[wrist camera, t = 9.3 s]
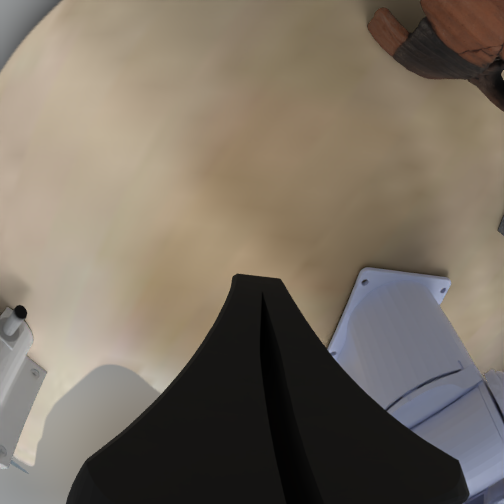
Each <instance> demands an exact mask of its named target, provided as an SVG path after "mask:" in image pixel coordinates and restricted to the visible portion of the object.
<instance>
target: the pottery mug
mask: <svg viewBox="0 0 504 504" xmlns="http://www.w3.org/2000/svg"><path fill="white" fill-rule="evenodd" d="M420 3H421V6H422V9H423V11H424V13H425V15H426V17H425V18H423V19H422V20H421V22H420V24H419V26H418V27H417V28H416V30H415V31H414V32H413V33H409V32H408V31H407V30H406V29H405V28H404V27H403V26H402V25H401V24H400V23H399V22H398V21H397V20H396V18H395V17H394V16H393V15H392V14H391V13H390V11H389V10H388V9H387V8H384V7H383V8H380V9H378V10H377V11H376V12H375V14H374V17H373V18H372V20H371V21H370V23H369V24H368V30H369V31H370V32H371V34H372V36H373V37H374V39H375V40H376V41H377V42H378V43H379V44H380V46H381V47H382V48H383V49H384V50H386V51H387V52H388V53H389V54H390V55H391V56H392V57H393V58H394V59H395V60H396V61H397V62H399V63H400V64H401V65H403V66H404V67H406V69H408V70H410V71H412V72H414V73H416V74H417V75H419V76H422V77H424V78H428V79H464V80H466V79H468V81H469V82H471V83H472V84H474V85H476V86H477V87H478V88H479V89H480V90H481V91H482V92H483V93H484V95H485V96H486V97H487V98H488V99H489V100H490V101H491V102H492V103H493V104H494V105H496V106H497V107H498V108H499V109H501V110H502V111H504V80H503V78H502V76H501V73H502V71H503V70H504V0H421V1H420Z"/></svg>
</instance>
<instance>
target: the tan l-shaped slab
mask: <svg viewBox="0 0 504 504" xmlns="http://www.w3.org/2000/svg"><path fill="white" fill-rule="evenodd" d="M498 231H499V232H500V233H501V234H502V235H503V236H504V217H503V219H502V222H501V224H500V226H499V229H498Z"/></svg>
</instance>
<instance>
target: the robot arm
mask: <svg viewBox="0 0 504 504" xmlns="http://www.w3.org/2000/svg"><path fill="white" fill-rule="evenodd" d="M365 279H367V280H366V281H365V282H362V281H363V280H365ZM450 285H451V281H450V279H449V278H447V277H441V276H433V275H426V274H418V273H410V272H402V271H394V270H386V269H378V268H371V267H366V268H363V269H362V270H361V271H360V273H359V275H358V278H357V280H356V283H355V285H354V288H353V290H352V293H351V295H350V298H349V300H348V303H347V305H346V308H345V310H344V312H343V315H342V317H341V319H340V322H339V324H338V326H337V329H336V331H335V333H334V335H333V338H332V340H331V342H330V344H329V346H328V349H326V347H325V346H324V345H323V344H322V342H321V341H320V339H319V338H318V337H317V335H316V334H315V332H314V331H313V330H312V328H311V327H310V325H309V324H308V322H307V321H306V319H305V318H304V316H303V315H302V313H301V312H300V310H299V308H298V307H297V305H296V304H295V302H294V300H293V299H292V297H291V295H290V294H289V292H288V290H287V289H286V287H285V285H284V283H283V282H282V281H281V279H278V278H270V277H261V276H253V275H245V274H236V275H234V276H233V277H232V284H231V288H230V291H229V294H228V296H227V299H226V301H225V303H224V305H223V307H222V309H221V311H220V313H219V315H218V317H217V319H216V321H215V323H214V324H213V326H212V328H211V329H210V331H209V333H208V334H207V336H206V337H205V339H204V341H203V342H202V344H201V345H200V347H199V348H198V350H197V351H196V352H195V354H194V355H193V357H192V358H191V359H190V361H189V362H188V363H187V364H186V366H185V367H184V368H183V370H182V371H181V372H180V373H179V374H178V376H177V377H176V378H175V379H174V380H173V381H172V383H171V384H170V385H169V386H168V387H167V388H166V390H165V391H164V392H163V393H162V394H161V395H160V396H159V397H158V398H157V399H156V400H155V401H154V402H153V403H152V404H151V405H150V406H149V407H148V408H147V409H146V410H145V411H144V412H143V413H142V414H141V415H140V416H139V417H138V418H137V419H136V420H134V421H133V422H132V423H131V424H130V425H129V426H128V427H127V428H126V429H125V430H123V431H122V432H121V433H120V434H119V435H118V436H116V437H115V438H114V439H112V440H111V441H110V442H108V443H107V444H106V445H105V446H103V447H102V448H101V449H99V450H98V451H97V452H96V453H94V454H93V455H92V456H91V457H89V458H88V459H87V460H86V461H85V463H84V464H83V466H82V467H81V469H80V471H79V473H78V474H77V476H76V478H75V480H74V482H73V484H72V487H71V490H70V492H69V495H68V498H67V502H66V504H504V372H502V371H496V372H495V371H494V370H493V369H491V370H489V371H488V372H487V373H485V374H484V375H485V378H486V380H487V382H488V383H487V382H486V380H485V379H484V377H483V376H482V374H481V373H480V371H479V370H478V368H477V367H476V366H475V364H474V362H473V360H472V359H471V357H470V355H469V353H468V352H467V350H466V348H465V346H464V345H463V343H462V341H461V340H460V338H459V336H458V335H457V333H456V331H455V330H454V328H453V326H452V325H451V323H450V321H449V320H448V318H447V317H446V315H445V313H444V312H443V310H442V309H441V307H440V304H441V302H442V300H443V298H444V297H445V295H446V293H447V291H448V289H449V287H450ZM441 289H442V290H441ZM333 351H334V352H333ZM488 384H489V385H488Z"/></svg>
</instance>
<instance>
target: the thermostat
mask: <svg viewBox="0 0 504 504" xmlns="http://www.w3.org/2000/svg"><path fill="white" fill-rule="evenodd" d="M26 316H27V311H26V309H25V308H24V307H23V306H21V305H18V306H16V308H15V309H14V310H12V309H10V308H9V307H7V308H6V309H5V311H4V312H3V313H2V315H1V316H0V469H6V468H9V465H10V462H11V459H12V456H13V453H14V451H15V448H16V445H17V442H18V440H19V437H20V435H21V432H22V429H23V427H24V424H25V422H26V419H27V417H28V414H29V412H30V410H31V407H32V405H33V403H34V400H35V398H36V396H37V393H38V391H39V389H40V387H41V385H42V382H43V380H44V378H45V376H46V374H47V372H46V371H45V370H44V369H42V368H41V367H40V366H38V365H37V364H36V363H35V362H33V361H32V360H31V359H30V358H28V356H27V355H26V354H27V352H28V351H29V349H30V347H31V345H32V343H33V335H32V333H31V330H30V329H29V327H28V325H27V324H26V323H25V321H24V319H25V318H26Z"/></svg>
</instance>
